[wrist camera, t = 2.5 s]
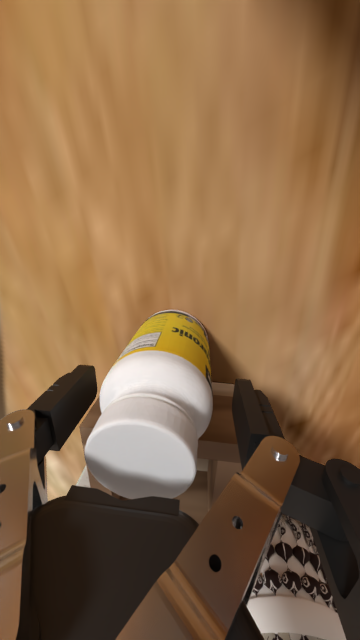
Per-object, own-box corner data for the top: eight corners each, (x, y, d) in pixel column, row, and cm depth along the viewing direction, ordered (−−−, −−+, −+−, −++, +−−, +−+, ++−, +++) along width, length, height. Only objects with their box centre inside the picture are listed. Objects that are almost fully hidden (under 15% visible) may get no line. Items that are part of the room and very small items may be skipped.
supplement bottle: (221, 355, 16) (243, 499, 7) (161, 379, 18) (118, 526, 9) (188, 294, 15) (166, 380, 6) (126, 325, 16) (30, 435, 7)
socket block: (114, 373, 18) (79, 426, 13) (234, 384, 17) (247, 445, 12) (121, 456, 22) (97, 523, 17) (221, 468, 21) (227, 542, 16)
